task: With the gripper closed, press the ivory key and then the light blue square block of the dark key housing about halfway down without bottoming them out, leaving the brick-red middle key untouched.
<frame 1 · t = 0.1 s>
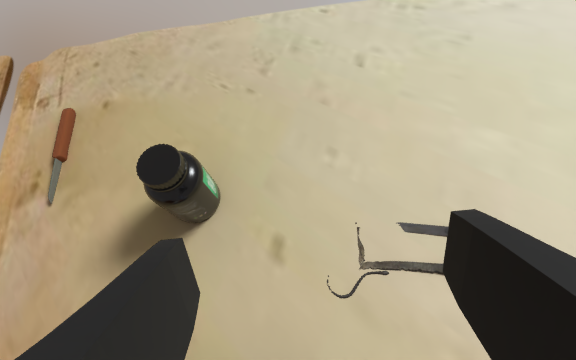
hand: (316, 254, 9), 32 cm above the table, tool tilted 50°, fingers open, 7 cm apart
supplement bottle: (197, 200, 44), on the table
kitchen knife: (66, 157, 49), on the table
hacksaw: (425, 265, 39), on the table
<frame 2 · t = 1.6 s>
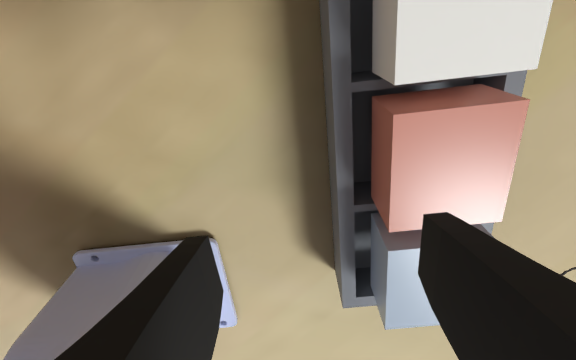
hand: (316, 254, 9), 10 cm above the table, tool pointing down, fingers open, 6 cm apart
light blue square block: (423, 266, 16), point 4 cm above the table, slide at 0.0 cm
key housing: (400, 125, 17), on the table
brick key: (435, 157, 13), point 5 cm above the table, slide at 0.0 cm
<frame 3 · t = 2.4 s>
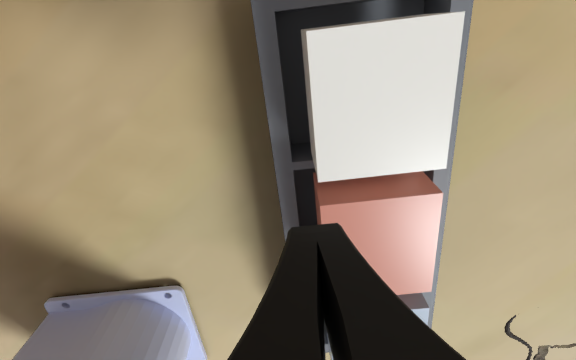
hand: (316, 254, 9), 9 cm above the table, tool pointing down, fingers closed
ivory key: (371, 97, 12), point 5 cm above the table, slide at 0.0 cm
light blue square block: (370, 322, 17), point 4 cm above the table, slide at 0.0 cm
key housing: (351, 185, 18), on the table
brick key: (370, 230, 14), point 5 cm above the table, slide at 0.0 cm
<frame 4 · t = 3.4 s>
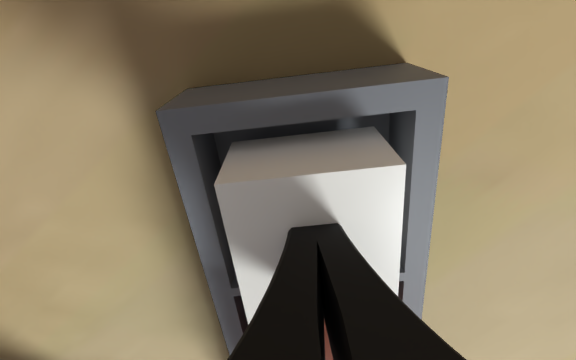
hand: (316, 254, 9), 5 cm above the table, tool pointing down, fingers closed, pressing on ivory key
ivory key: (312, 224, 10), point 4 cm above the table, slide at 0.9 cm, touching gripper
key housing: (315, 281, 16), on the table
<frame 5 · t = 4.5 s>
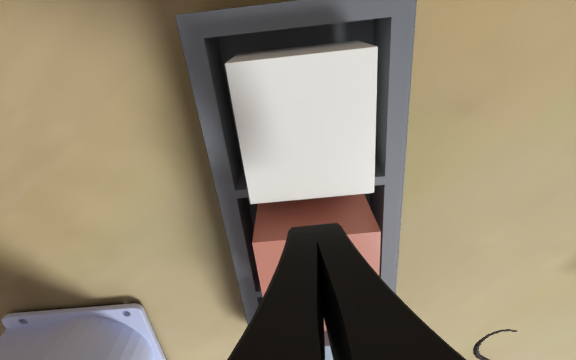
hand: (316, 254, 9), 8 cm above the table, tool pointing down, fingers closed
ivory key: (304, 121, 12), point 3 cm above the table, slide at 1.0 cm
light blue square block: (323, 350, 16), point 4 cm above the table, slide at 0.0 cm
key housing: (309, 207, 18), on the table
brick key: (316, 262, 14), point 4 cm above the table, slide at 0.0 cm
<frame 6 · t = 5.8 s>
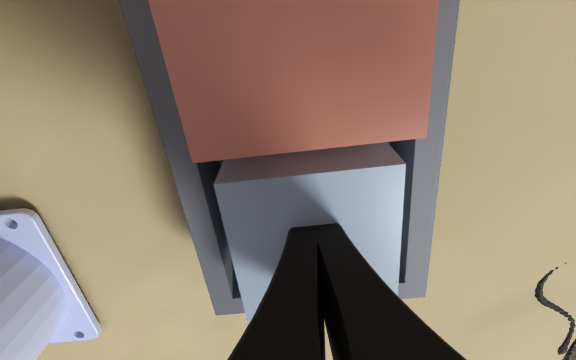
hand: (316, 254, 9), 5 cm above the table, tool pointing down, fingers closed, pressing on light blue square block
light blue square block: (311, 224, 10), point 4 cm above the table, slide at 1.0 cm, touching gripper
key housing: (289, 13, 10), on the table
brick key: (292, 8, 6), point 4 cm above the table, slide at 0.0 cm
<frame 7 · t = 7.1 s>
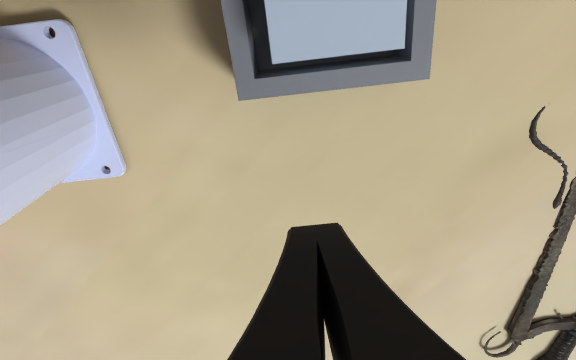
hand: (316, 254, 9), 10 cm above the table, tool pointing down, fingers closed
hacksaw: (542, 258, 23), on the table
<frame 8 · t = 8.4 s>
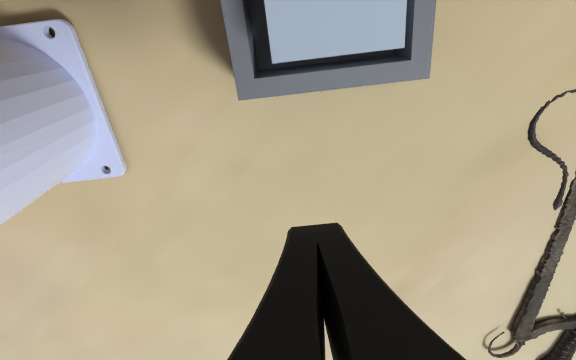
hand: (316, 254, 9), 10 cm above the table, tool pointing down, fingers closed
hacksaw: (544, 258, 23), on the table
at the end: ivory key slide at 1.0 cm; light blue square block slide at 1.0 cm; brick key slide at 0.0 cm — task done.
